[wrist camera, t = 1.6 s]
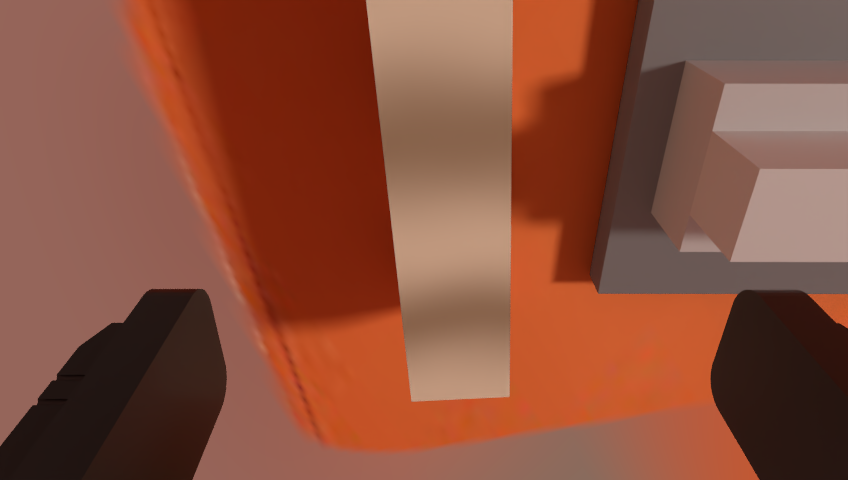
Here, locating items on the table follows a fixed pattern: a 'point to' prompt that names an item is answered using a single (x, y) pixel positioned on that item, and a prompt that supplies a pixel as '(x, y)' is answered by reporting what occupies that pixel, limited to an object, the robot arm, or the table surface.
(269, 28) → the table surface
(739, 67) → the ridge stand
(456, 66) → the ash bar
